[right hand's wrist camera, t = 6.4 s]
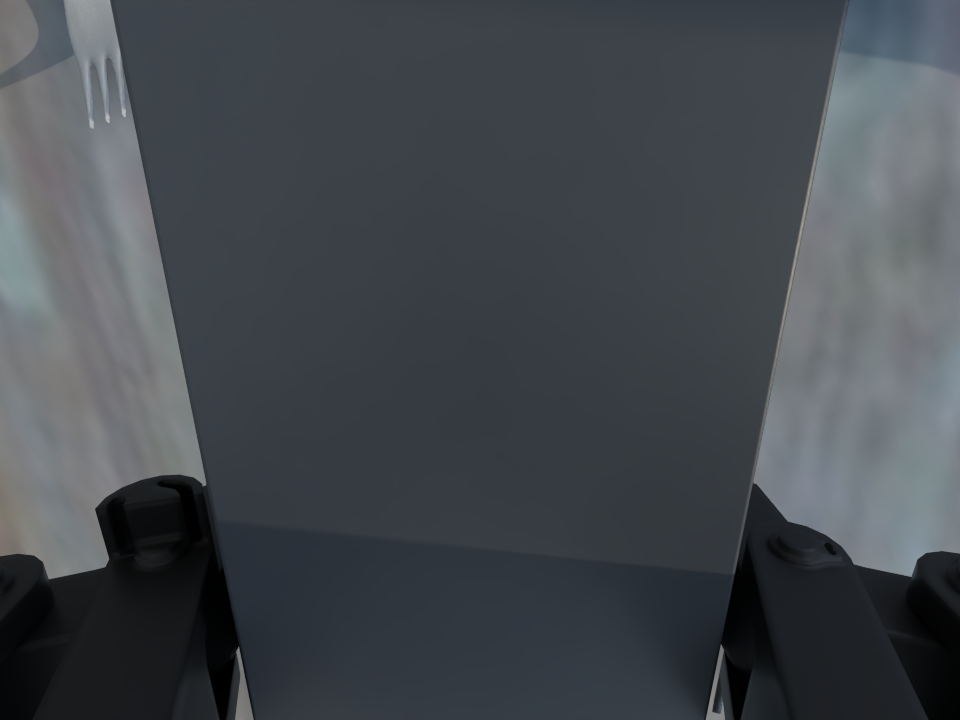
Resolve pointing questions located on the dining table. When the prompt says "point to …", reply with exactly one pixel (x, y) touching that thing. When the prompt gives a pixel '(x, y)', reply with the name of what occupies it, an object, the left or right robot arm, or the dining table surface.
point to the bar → (479, 331)
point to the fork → (95, 48)
